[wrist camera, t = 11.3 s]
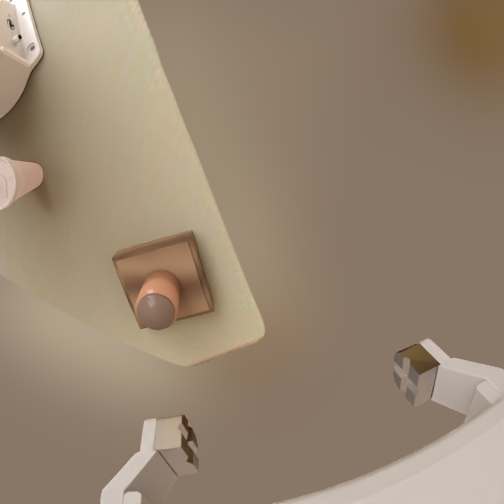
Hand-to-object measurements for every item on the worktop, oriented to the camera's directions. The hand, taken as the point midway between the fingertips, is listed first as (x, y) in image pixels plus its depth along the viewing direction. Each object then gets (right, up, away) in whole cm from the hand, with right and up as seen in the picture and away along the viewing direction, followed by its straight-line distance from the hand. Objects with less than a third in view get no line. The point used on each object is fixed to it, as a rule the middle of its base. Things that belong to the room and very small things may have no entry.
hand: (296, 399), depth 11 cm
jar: (-13, +1, +30) cm, 33 cm away
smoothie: (-33, +16, +26) cm, 45 cm away
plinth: (-14, +2, +33) cm, 36 cm away
